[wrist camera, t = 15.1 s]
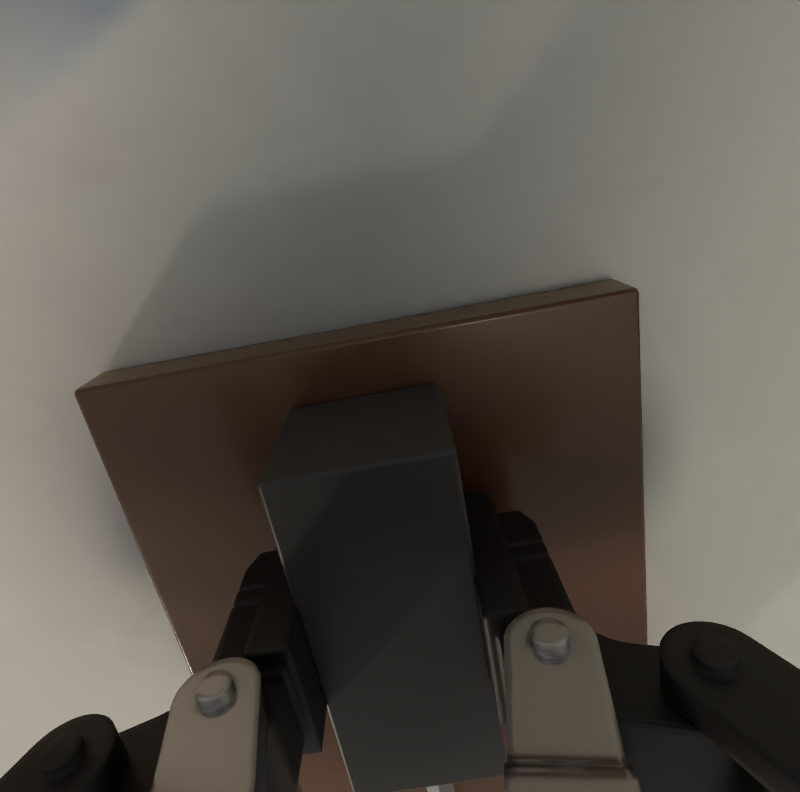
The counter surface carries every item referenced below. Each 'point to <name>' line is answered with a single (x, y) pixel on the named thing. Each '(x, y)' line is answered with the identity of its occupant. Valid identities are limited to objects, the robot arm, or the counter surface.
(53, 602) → the counter surface
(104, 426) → the board
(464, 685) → the knife
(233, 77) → the counter surface
